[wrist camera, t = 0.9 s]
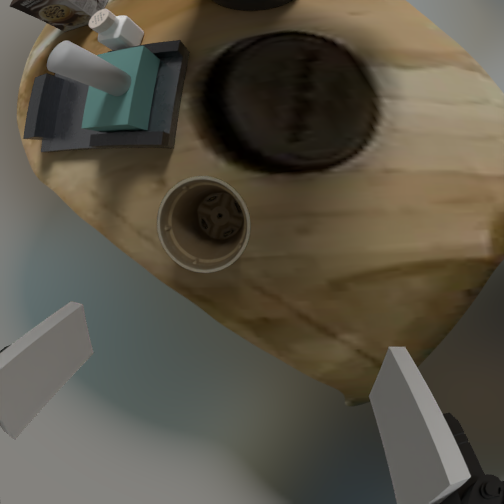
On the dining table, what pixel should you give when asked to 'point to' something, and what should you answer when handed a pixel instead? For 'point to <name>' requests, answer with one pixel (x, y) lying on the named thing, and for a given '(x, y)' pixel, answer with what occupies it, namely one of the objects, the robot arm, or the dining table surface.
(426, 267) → the dining table surface
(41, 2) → the coffee box
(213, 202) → the flower pot
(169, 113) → the tray
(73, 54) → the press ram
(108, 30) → the pepper shaker
